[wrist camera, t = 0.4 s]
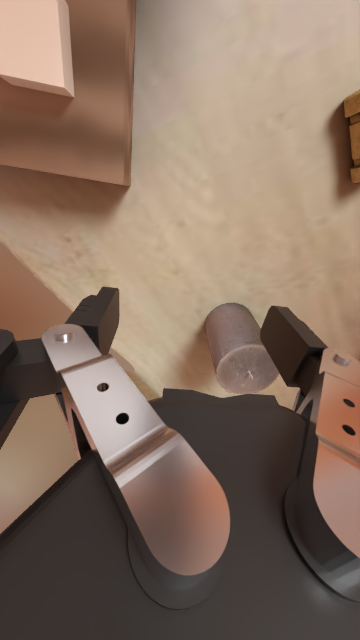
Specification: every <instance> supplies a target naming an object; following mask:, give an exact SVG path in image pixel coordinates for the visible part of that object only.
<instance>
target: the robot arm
mask: <svg viewBox="0 0 360 640" xmlns="http://www.w3.org/2000/svg"><path fill="white" fill-rule="evenodd" d="M118 324H119V289H118V288H111V287H102V288H101V290H100V291H99V293H98V294H97V296H96V295H90V296H88V297H86V298H84V299H83V300H82V301H81V303H80V304H79V306H78V307H77V308H76V309H75V311H74V312H73V313H72V314H71V316H70V317H69V318H68V320H67V321H66V322H65V324H61V325H57V326H53V327H51V328H49V329H47V330H46V331H45V332H44V333H43V334H42V336H41V338H39V339H32V340H22V341H15V338H14V335H13V333H11V332H10V331H8V330H2V329H0V449H1V447H2V446H3V444H4V442H5V440H6V439H7V437H8V435H9V433H10V431H11V430H12V428H13V426H14V425H15V423H16V421H17V419H18V417H19V416H20V414H21V413H22V411H23V409H24V407H25V405H26V404H27V402H28V400H29V399H30V398H34V397H39V396H44V395H49V394H55V397H56V400H57V402H58V405H59V407H60V409H61V412H62V414H63V417H64V419H65V422H66V424H67V427H68V429H69V432H70V435H71V438H72V441H73V445H74V448H75V451H76V453H77V456H78V458H79V460H78V461H77V462H76V463H75V464H74V465H73V466H72V467H71V468H70V469H69V470H68V471H67V472H66V473H65V474H64V475H63V476H62V477H60V478H59V479H58V480H57V481H56V482H55V483H54V484H53V485H52V486H51V487H50V488H49V489H48V490H47V491H46V492H45V493H43V494H42V495H41V496H40V497H39V498H38V499H37V500H36V501H35V502H34V503H33V504H32V505H31V506H30V507H29V508H28V509H27V510H25V511H24V512H23V513H22V514H21V515H20V516H19V517H18V518H17V519H16V520H15V521H14V522H13V523H12V524H11V525H9V527H7V528H6V529H5V530H4V531H3V532H2V533H1V534H0V640H360V362H359V361H358V360H357V359H356V358H354V357H353V356H352V355H350V354H348V353H346V352H344V351H342V350H339V349H335V348H328V347H327V346H326V345H325V344H324V343H323V342H322V341H321V340H320V339H319V338H318V337H317V336H316V335H315V334H314V332H313V331H312V330H310V328H309V327H308V326H307V325H306V324H305V323H304V322H302V321H301V320H299V319H298V318H297V317H296V316H295V315H294V314H293V313H292V312H291V311H290V309H289V308H287V307H281V306H271V307H270V309H269V310H268V313H267V316H266V318H265V321H264V323H263V326H262V328H261V331H260V339H261V342H262V344H263V345H264V347H265V349H266V350H267V352H268V354H269V356H270V357H271V359H272V361H273V363H274V364H275V366H276V368H277V370H278V371H279V373H280V375H281V376H282V378H283V380H284V382H285V383H286V385H287V387H300V390H299V392H298V393H297V396H296V399H295V402H294V406H293V409H292V410H290V409H288V408H286V407H283V406H280V405H279V404H278V402H277V400H276V398H275V396H273V395H258V394H244V395H239V396H233V397H227V398H219V397H215V396H211V395H208V394H204V393H200V392H197V391H193V390H182V389H167V388H164V390H163V396H162V397H161V398H156V399H153V400H150V401H147V400H146V399H145V398H144V396H143V395H142V394H141V392H140V391H139V390H138V388H137V387H136V386H135V385H134V383H133V382H132V381H131V379H130V378H129V377H128V375H127V374H126V373H125V371H124V370H123V369H122V368H121V366H120V365H119V364H118V363H117V361H116V360H115V358H114V357H113V356H112V355H111V354H108V352H109V349H110V347H111V344H112V341H113V339H114V336H115V333H116V330H117V328H118Z"/></svg>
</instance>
